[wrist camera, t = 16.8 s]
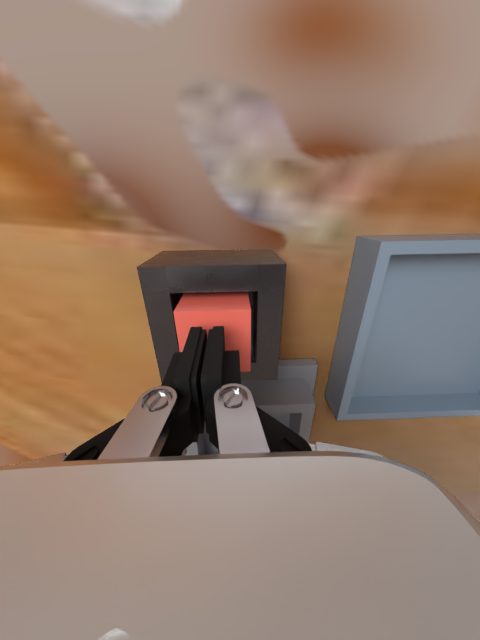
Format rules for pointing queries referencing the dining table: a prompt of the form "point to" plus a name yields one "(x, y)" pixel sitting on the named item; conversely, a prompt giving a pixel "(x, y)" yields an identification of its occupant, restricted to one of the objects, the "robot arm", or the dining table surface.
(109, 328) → the dining table surface
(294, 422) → the grey divided tray
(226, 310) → the button
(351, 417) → the tray
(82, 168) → the dining table surface
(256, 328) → the box
